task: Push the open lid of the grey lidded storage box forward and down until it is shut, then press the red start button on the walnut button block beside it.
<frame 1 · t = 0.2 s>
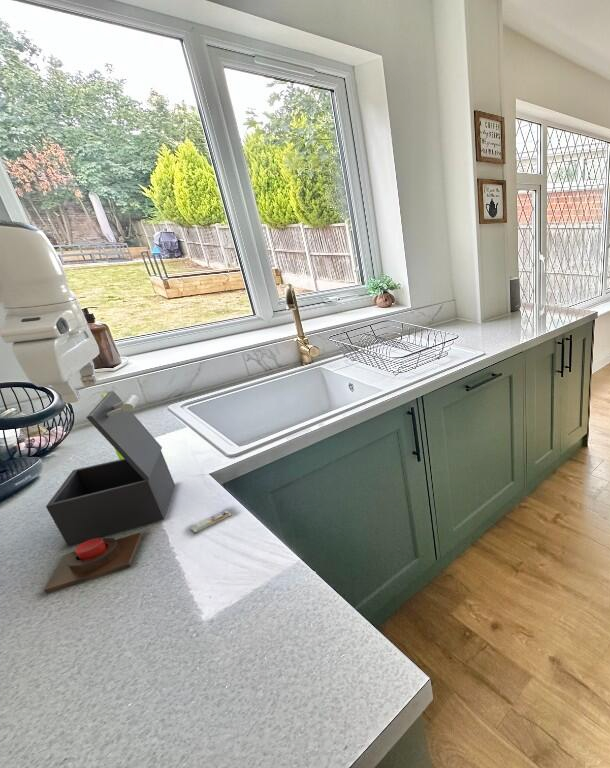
hand: (82, 392, 77), 28 cm above the worktop, tool pointing down, fingers open, 8 cm apart
granola bar: (212, 523, 84), on the worktop
soap dispenser: (140, 467, 104), on the worktop
grey lidded storage box: (127, 514, 87), on the worktop
start button: (90, 548, 73), point 4 cm above the worktop, slide at 0.2 cm
box lid: (140, 429, 83), point 18 cm above the worktop, hinge at 75.0°
button block: (99, 563, 74), on the worktop
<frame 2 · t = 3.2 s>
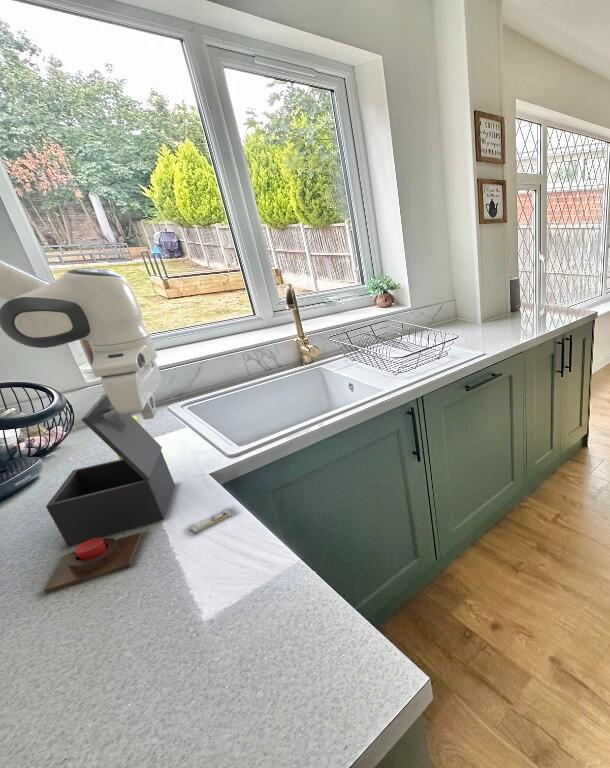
hand: (150, 416, 86), 19 cm above the worktop, tool pointing down, fingers closed
box lid: (137, 429, 83), point 18 cm above the worktop, hinge at 72.1°, touching gripper
everything else where it was.
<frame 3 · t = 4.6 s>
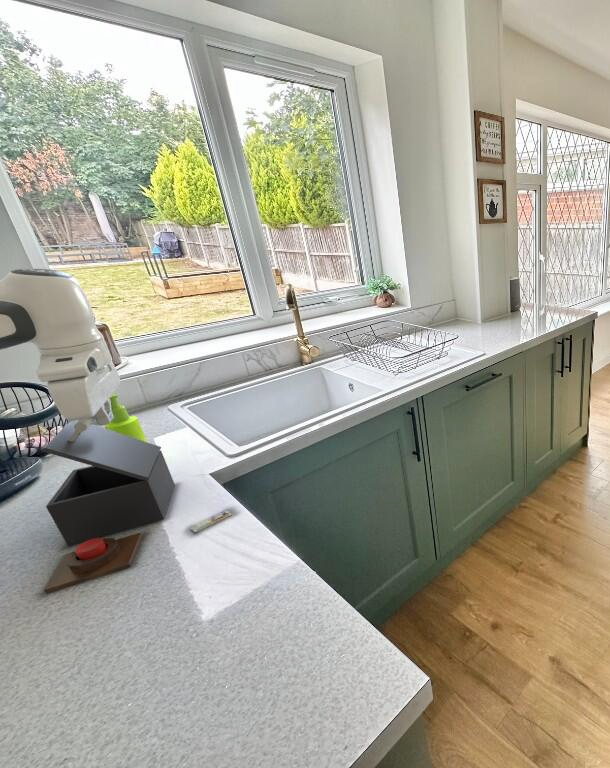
hand: (106, 422, 83), 20 cm above the worktop, tool pointing down, fingers closed
box lid: (115, 440, 82), point 17 cm above the worktop, hinge at 42.5°
everything else where it was.
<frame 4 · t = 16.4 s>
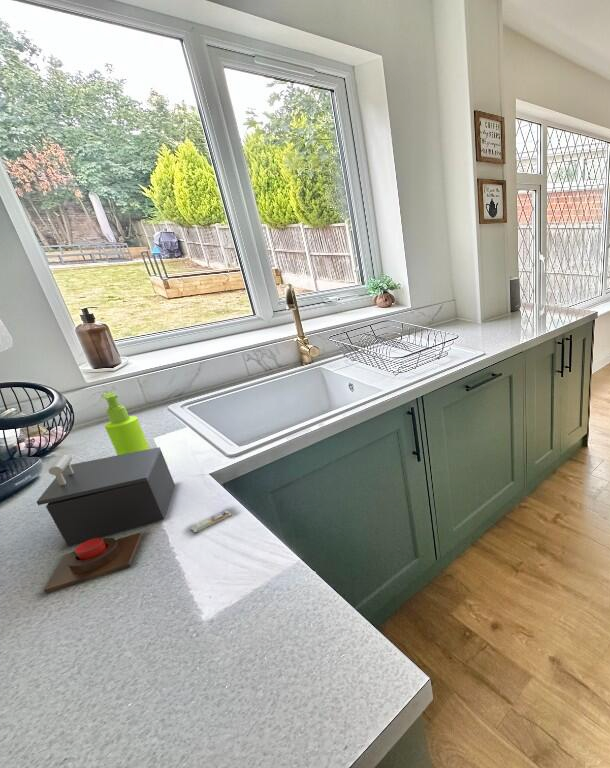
box lid: (101, 464, 82), point 13 cm above the worktop, hinge at 1.8°
everything else where it was.
at the end: box lid at +2° (first picture: +75°); start button pushed in 1.0 cm at the most during the clip, back to 0.2 cm at the end; start button slide at 0.2 cm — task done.
